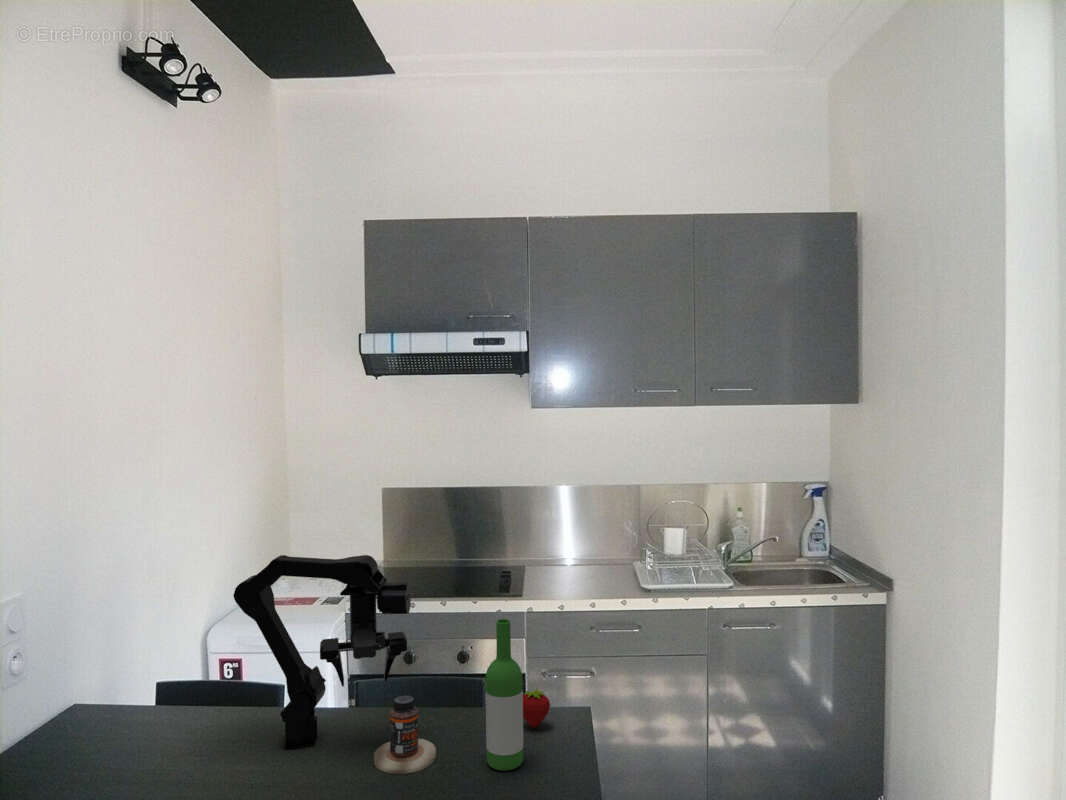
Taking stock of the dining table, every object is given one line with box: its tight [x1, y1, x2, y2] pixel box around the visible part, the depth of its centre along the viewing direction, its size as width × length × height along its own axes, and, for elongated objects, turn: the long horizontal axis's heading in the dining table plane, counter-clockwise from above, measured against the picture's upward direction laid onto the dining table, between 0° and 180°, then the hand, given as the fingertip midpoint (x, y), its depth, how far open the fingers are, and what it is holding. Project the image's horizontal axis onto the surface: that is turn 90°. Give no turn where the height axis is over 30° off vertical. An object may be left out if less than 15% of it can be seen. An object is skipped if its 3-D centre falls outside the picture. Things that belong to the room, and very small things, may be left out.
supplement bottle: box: [389, 695, 419, 757], centre depth 157 cm, size 6×6×11 cm
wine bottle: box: [485, 618, 524, 771], centre depth 154 cm, size 8×8×30 cm
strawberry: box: [523, 683, 551, 729], centre depth 170 cm, size 6×8×10 cm
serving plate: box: [373, 737, 437, 775], centre depth 157 cm, size 13×13×1 cm
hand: (364, 683), depth 164 cm, fingers open, 9 cm apart
